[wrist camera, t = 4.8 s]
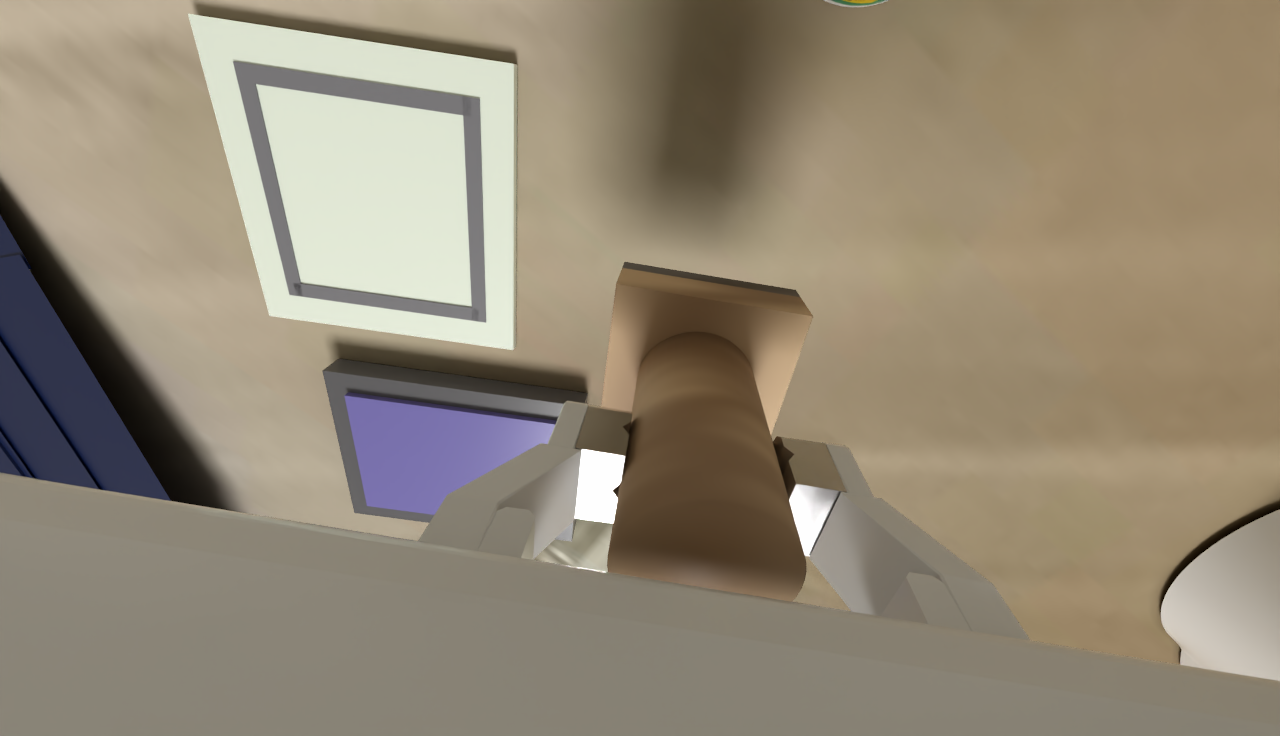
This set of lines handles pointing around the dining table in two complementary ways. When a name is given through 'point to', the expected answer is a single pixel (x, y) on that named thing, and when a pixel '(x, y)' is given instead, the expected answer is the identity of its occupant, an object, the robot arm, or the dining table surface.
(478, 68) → the print card
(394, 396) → the ink pad
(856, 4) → the supplement bottle
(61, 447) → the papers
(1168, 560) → the dining table surface
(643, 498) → the stamp
